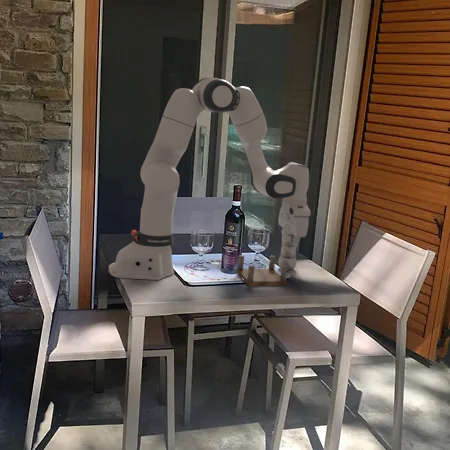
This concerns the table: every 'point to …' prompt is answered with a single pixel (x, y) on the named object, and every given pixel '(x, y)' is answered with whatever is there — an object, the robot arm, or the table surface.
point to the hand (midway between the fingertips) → (290, 242)
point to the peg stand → (262, 274)
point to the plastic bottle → (287, 249)
